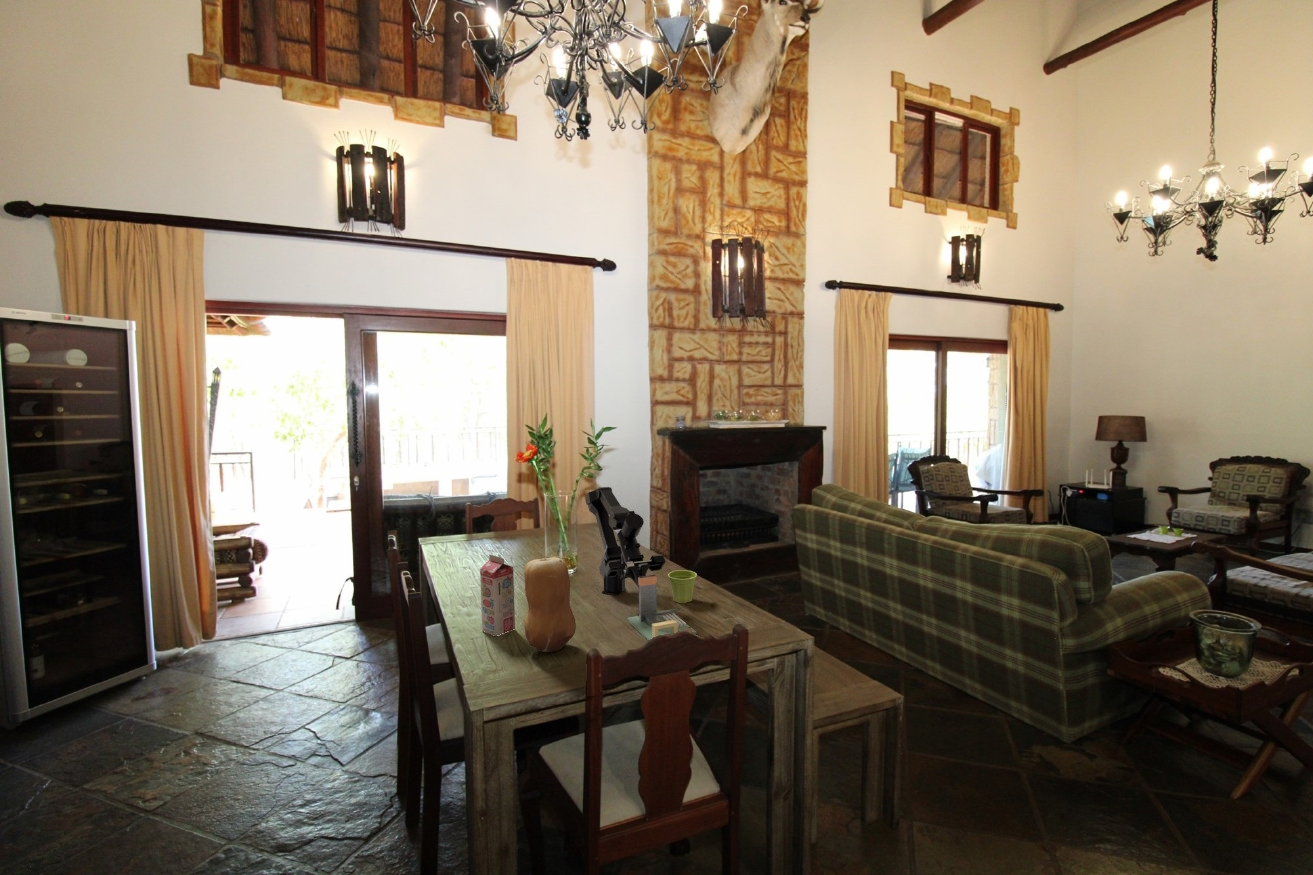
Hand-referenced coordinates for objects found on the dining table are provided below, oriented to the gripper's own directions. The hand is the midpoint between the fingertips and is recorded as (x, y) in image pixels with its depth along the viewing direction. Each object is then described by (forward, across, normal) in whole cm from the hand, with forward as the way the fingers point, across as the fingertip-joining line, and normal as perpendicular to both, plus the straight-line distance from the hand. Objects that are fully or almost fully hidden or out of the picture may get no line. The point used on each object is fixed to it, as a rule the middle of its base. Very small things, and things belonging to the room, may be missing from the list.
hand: (642, 590), depth 184 cm
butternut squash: (+14, +31, +1) cm, 34 cm away
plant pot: (0, -18, -13) cm, 22 cm away
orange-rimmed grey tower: (+10, -4, -1) cm, 11 cm away
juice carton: (0, +42, -13) cm, 44 cm away
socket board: (+12, -2, 0) cm, 12 cm away
